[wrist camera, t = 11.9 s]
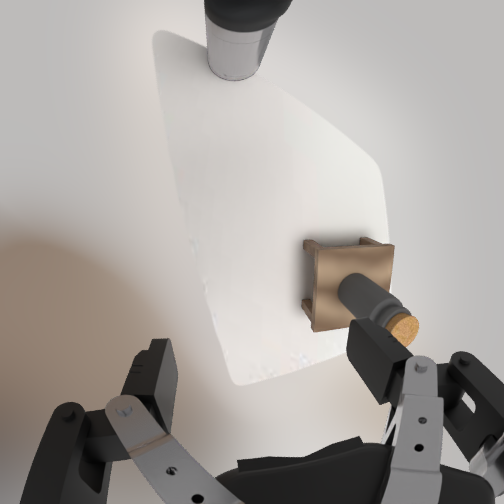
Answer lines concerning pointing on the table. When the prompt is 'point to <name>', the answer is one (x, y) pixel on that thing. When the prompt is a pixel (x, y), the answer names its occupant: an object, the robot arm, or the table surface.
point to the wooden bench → (335, 270)
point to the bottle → (377, 307)
